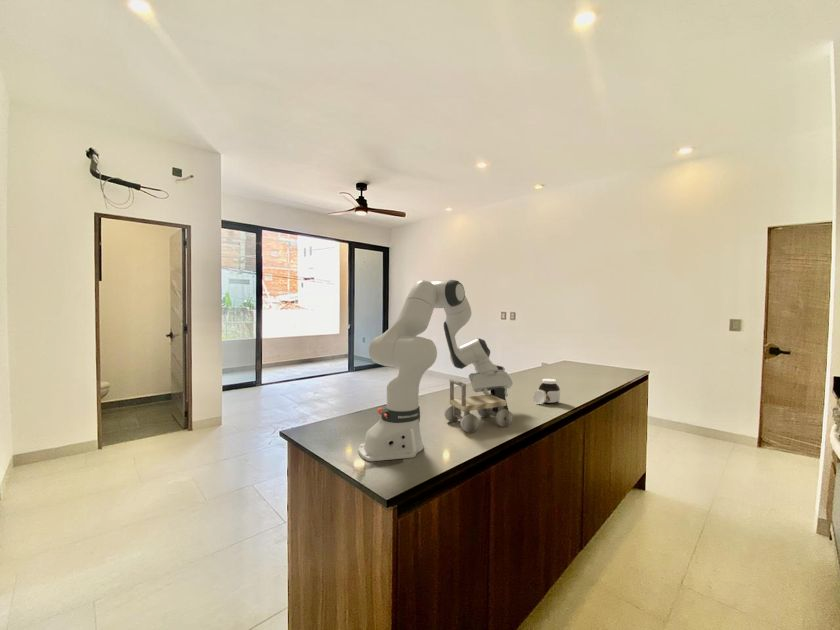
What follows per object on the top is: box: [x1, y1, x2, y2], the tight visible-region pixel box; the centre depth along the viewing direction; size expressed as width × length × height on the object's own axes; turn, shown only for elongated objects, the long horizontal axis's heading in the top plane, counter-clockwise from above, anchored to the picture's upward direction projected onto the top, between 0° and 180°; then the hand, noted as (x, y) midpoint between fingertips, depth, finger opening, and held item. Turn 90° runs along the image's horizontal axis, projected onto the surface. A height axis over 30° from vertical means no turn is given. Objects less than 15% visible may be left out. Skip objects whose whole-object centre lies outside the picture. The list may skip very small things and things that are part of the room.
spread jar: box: [532, 378, 561, 405], centre depth 179 cm, size 12×11×12 cm
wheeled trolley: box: [443, 378, 513, 434], centre depth 149 cm, size 23×16×19 cm
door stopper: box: [490, 387, 509, 417], centre depth 162 cm, size 9×6×12 cm, turn 35°
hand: (498, 397), depth 161 cm, fingers open, 7 cm apart
